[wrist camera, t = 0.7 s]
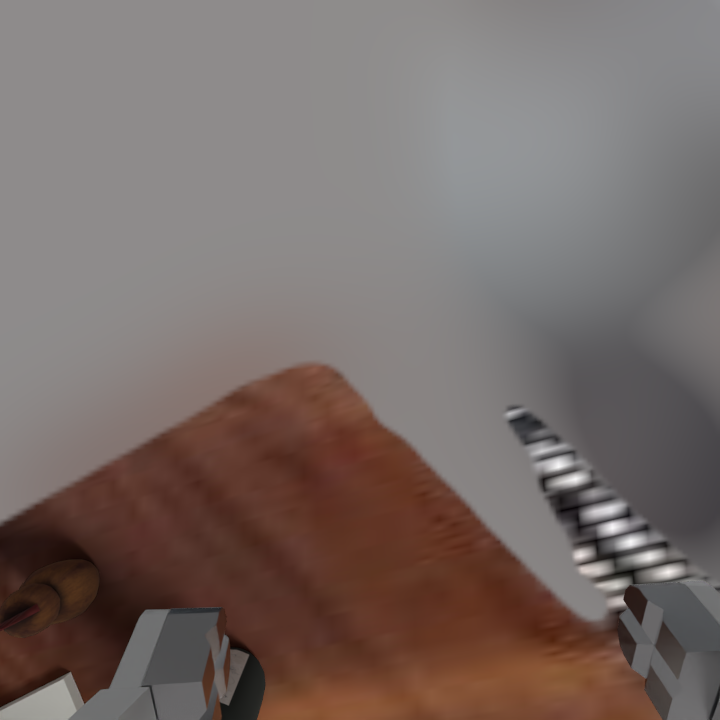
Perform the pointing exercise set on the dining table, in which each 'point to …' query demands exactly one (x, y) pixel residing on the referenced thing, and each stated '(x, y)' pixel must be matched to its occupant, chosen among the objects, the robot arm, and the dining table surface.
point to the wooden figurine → (50, 597)
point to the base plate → (46, 702)
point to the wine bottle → (243, 687)
